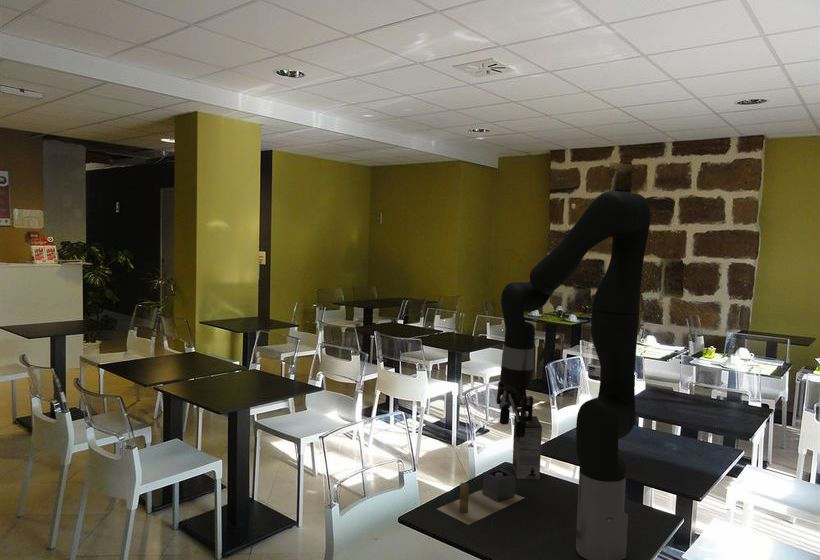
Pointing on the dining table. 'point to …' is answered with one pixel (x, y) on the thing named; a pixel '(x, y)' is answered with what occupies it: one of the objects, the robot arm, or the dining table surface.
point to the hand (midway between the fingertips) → (511, 430)
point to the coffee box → (528, 451)
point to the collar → (498, 485)
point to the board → (475, 504)
